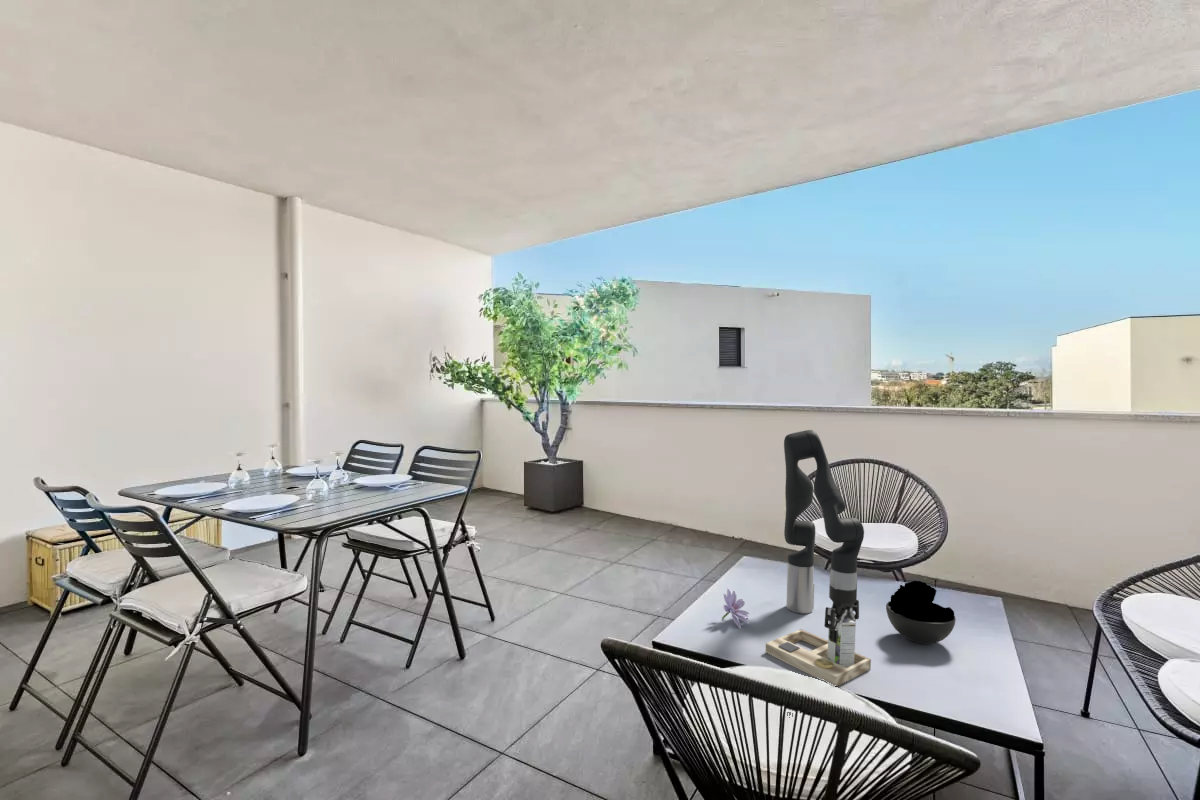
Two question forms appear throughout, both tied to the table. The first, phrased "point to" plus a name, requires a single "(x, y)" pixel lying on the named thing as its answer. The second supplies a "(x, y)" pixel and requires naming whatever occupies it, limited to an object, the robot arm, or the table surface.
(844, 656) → the syrup box
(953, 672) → the table surface
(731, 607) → the water lily
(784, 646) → the socket block
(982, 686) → the table surface
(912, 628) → the bowl of black rocks
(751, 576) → the table surface
